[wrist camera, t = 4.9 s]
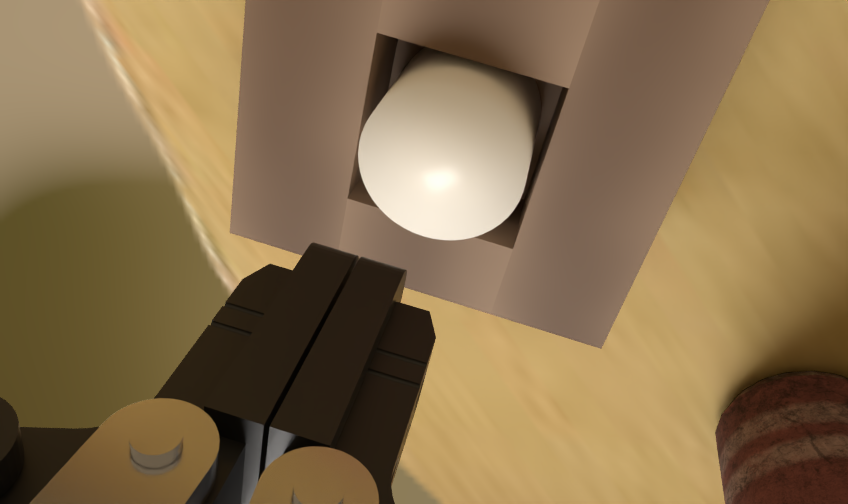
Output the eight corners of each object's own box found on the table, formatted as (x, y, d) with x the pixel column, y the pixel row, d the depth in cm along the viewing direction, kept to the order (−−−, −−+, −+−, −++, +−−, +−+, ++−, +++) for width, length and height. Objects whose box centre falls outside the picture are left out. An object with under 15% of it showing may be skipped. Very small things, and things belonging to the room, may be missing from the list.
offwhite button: (560, 59, 21) (549, 114, 17) (517, 190, 23) (500, 260, 20) (412, 16, 21) (373, 62, 18) (384, 151, 23) (346, 212, 20)
